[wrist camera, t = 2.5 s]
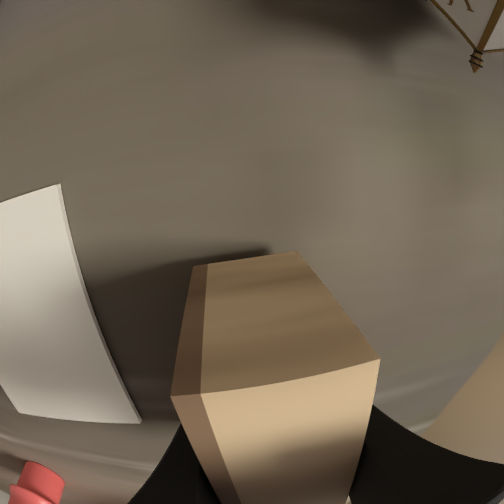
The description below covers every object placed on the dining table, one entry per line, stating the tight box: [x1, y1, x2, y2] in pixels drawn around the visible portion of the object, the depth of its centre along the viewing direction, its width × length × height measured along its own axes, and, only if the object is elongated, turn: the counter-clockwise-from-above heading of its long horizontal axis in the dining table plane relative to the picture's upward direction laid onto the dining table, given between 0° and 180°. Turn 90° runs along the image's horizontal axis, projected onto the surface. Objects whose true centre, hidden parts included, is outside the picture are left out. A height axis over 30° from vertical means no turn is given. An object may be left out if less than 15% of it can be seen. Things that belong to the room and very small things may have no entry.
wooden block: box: [170, 251, 380, 504], centre depth 9 cm, size 9×4×6 cm, turn 7°
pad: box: [0, 184, 142, 423], centre depth 11 cm, size 12×9×1 cm
